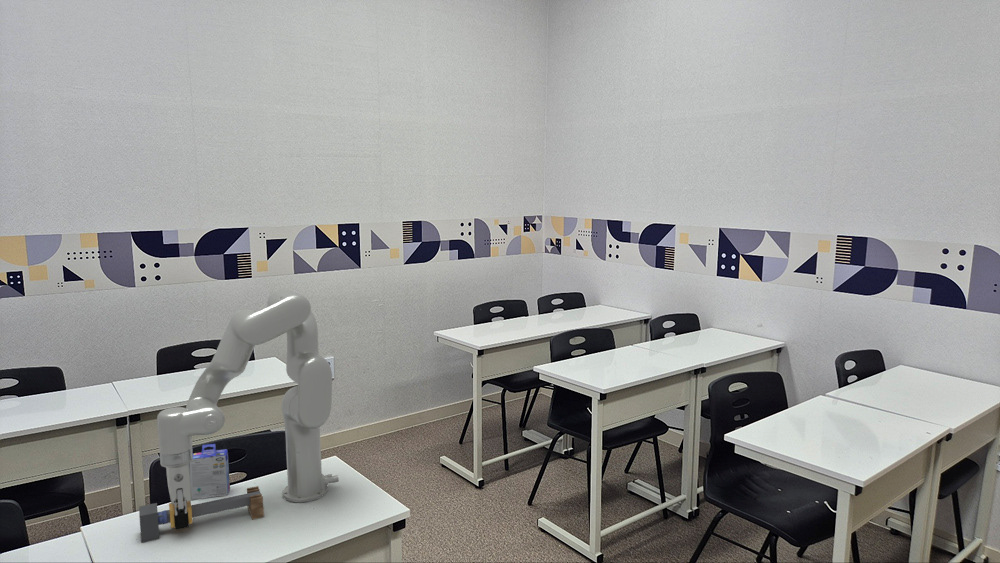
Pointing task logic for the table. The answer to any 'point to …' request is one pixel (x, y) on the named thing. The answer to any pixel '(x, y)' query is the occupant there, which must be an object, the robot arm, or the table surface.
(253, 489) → the brown wooden block
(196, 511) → the long gray square bar
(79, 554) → the table surface
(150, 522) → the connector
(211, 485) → the ink cartridge box
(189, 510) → the tan sliding collar
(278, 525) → the table surface
